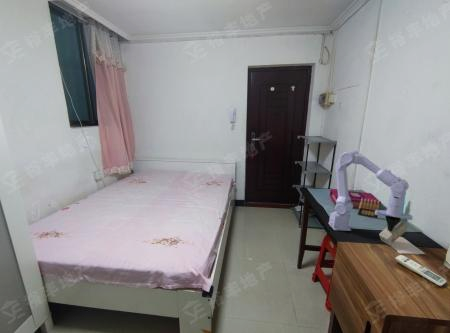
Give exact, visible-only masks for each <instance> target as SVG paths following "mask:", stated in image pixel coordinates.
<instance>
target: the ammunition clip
mask: <svg viewBox="0 0 450 333" xmlns="http://www.w3.org/2000/svg"><path fill="white" fill-rule="evenodd" d="M369 202H370V199H368V201H367V204H366V198H365V200H364V203H363V198H362V199H361V202H360V206H359V209H357V210H358V211H357V215H358V216H361V217H367V218H372V219H378V217H379V215H376V214H375V210H380V209H379V208H380V205H379V203H380V199H378V202H377V205H376V200H375V201H374V204H373V199H372V200H371V202H370V205H369ZM372 204H373V207H372ZM362 206H363V207H362ZM375 208H376V209H375Z"/></svg>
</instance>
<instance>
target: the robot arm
mask: <svg viewBox="0 0 450 333" xmlns="http://www.w3.org/2000/svg"><path fill="white" fill-rule="evenodd" d="M352 164H354V165H361V166H362V167H364V168H366V169H367V170H369V171H371V173H373V174H375V178H376V179H377V180H378V181H380V182H382V183H383V184H384V185H385V186H388V187H389V188H390V194H389V198H388V202H387V206H386V210H384V209H383V210H380V209H379V210H375V214H376V215H378V216H382V217H383V216H384V218H385V220H386V224H387V225H386V228H387V227H388V231H391V232H392V230H393V229H394V227H395V226H396V225H397V224H398V223H399V222H400V221H402V220H401V219H406V220H408V221H412V220H413V215H412V214H407V213H404V212H402V211H403V209H404V205H405V201H406V200H405V199H406V195H407V190H408V189H409V183H408V182H407V180H406V179H403V178H401V177H400V176H396V175H395V174H393V173H392V170H390V169H387V168H380V167H379V166H378V165H377V164H375V163H374V162H372V161H371V160H370V159H368V158H367V157H366V156H365V155H363V154H362V153H361V152H358V151H357V150H356V149H355V150H352V149H351V150H349V151H344V152H343V153H341V154H340V155H338V160H337V162H336V163H335V165H334V166H335V168H334V169H335V176H336V177H335V178H336V187H337V190H338V198H337V201H336V206H335V205H334V206H335V207H334V211H333V212H331V213H330V214H329V221H328V225H329V226H330V227H331V228H332V229H333V230H334V231H349V232H350V231H351V232H352V229H351V228H350V227H349V224H350V218H351V211H352V210H353V204H352V202H351V198H350V197H349V193H348V191H349V184H348V183H349V182H348V173H347V168H348V167H349V166H351V165H352Z"/></svg>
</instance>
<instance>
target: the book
mask: <svg viewBox="0 0 450 333" xmlns="http://www.w3.org/2000/svg"><path fill="white" fill-rule="evenodd" d="M348 193H349V197H350V198H351V202H352V204H353V208H352V210H353V209H356V210H359V206H360V202H361V199H362V198H363V203H364V200H365V198H366V204H367V201H368V199H370V202H371V200H372V199H373V204H374V201H375V200H376V205H377V202H378V200H379V199H378V198H377V197H376V196H375V195H374V194H373V193H371V192H364V191H363V192H362V191H354V190H348ZM330 197H331V198H330ZM329 198H330V199H332V200H333V201H332V200H331V201H332V203H333V202H334V203H333V205H334V204H335V205H336V201H337V198H338V190H337V189H336V188H331V189H330V191H329ZM379 201H380V200H379ZM370 202H369V205H370ZM373 204H372V207H373ZM335 205H334V206H335ZM381 205H382V201H380V203H379V206H381ZM362 207H363V206H362ZM375 209H376V208H375Z"/></svg>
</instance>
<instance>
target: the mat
mask: <svg viewBox="0 0 450 333" xmlns="http://www.w3.org/2000/svg"><path fill="white" fill-rule="evenodd" d="M390 247H391V248H393V249H394V250H395V251H396V250H397V251H396V252H397V253H398V254H401V255H419V254H425V255H426V253H425V252H424V251H423V250H421V249H419V248H418V247H417V246H415V245H414V244H413V243H412V242H410V241H409V240H407V239H406V238H404V237H402V236H400V237H399V238H397V239H396V240H395V241H394V242H393V243H392V244H391V245H390Z"/></svg>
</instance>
